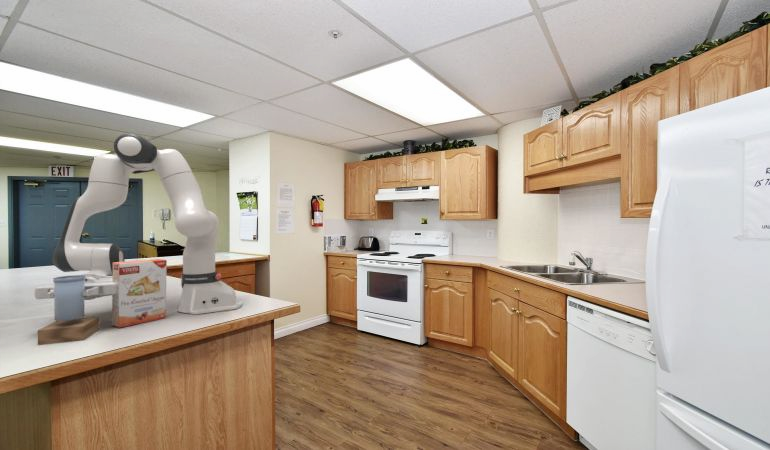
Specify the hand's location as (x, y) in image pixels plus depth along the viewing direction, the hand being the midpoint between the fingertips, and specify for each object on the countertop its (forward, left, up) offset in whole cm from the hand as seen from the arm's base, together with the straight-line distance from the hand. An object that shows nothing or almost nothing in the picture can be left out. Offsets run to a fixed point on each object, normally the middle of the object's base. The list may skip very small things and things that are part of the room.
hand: (68, 294), depth 96 cm
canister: (0, -1, -7) cm, 7 cm away
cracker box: (-15, -11, -13) cm, 22 cm away
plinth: (0, -1, -13) cm, 13 cm away
